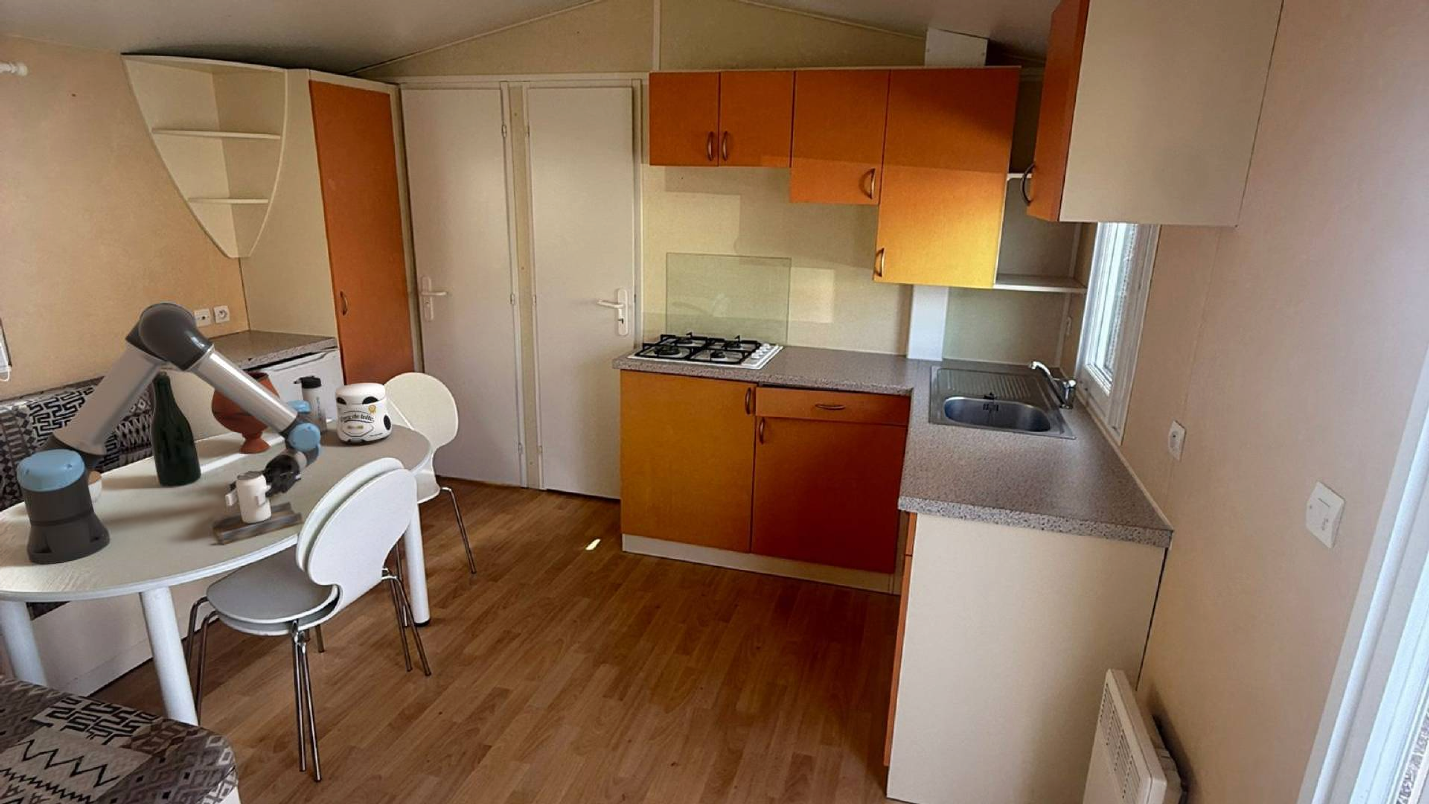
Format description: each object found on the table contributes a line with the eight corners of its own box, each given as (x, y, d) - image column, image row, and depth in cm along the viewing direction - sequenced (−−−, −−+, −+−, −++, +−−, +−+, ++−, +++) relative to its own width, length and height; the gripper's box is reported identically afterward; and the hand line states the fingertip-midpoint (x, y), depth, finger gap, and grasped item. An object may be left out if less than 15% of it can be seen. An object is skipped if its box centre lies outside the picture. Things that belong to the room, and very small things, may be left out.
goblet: (214, 448, 247) (200, 374, 240) (279, 436, 260) (268, 366, 253) (226, 464, 234) (212, 387, 227) (294, 451, 246) (283, 377, 239)
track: (223, 544, 184) (222, 535, 183) (212, 530, 191) (211, 520, 190) (303, 523, 196) (301, 514, 195) (290, 510, 203) (288, 501, 203)
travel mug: (308, 430, 266) (300, 375, 261) (329, 428, 268) (321, 374, 263) (305, 435, 261) (297, 380, 255) (326, 434, 263) (318, 379, 257)
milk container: (347, 451, 247) (340, 398, 242) (331, 437, 260) (325, 387, 254) (400, 440, 258) (395, 389, 253) (383, 427, 271) (377, 379, 266)
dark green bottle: (200, 471, 228) (181, 366, 219) (203, 482, 220) (182, 373, 211) (158, 478, 222) (136, 370, 213) (159, 490, 214) (136, 378, 205)
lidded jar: (102, 508, 202) (95, 475, 200) (51, 516, 197) (43, 483, 195) (109, 494, 211) (102, 462, 209) (60, 501, 206) (52, 469, 203)
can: (258, 525, 189) (250, 481, 186) (236, 522, 191) (228, 478, 187) (277, 514, 195) (270, 471, 192) (256, 512, 197) (248, 469, 193)
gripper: (323, 478, 210) (285, 514, 188) (251, 479, 208) (204, 515, 186) (320, 453, 208) (280, 486, 186) (247, 454, 206) (198, 487, 184)
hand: (242, 500), depth 186 cm, fingers closed on can, 6 cm apart
